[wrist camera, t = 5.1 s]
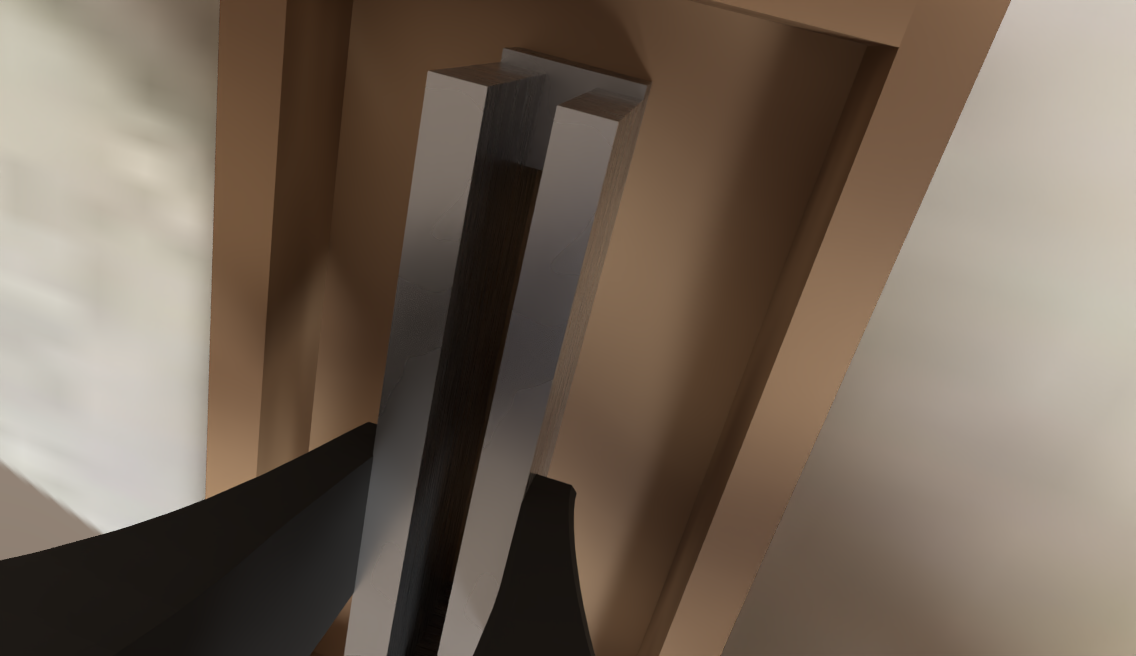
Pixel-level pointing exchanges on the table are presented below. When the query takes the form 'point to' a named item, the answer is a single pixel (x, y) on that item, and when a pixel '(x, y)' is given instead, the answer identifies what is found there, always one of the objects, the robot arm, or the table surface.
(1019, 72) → the table surface
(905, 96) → the wooden tray
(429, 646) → the slotted metal channel
